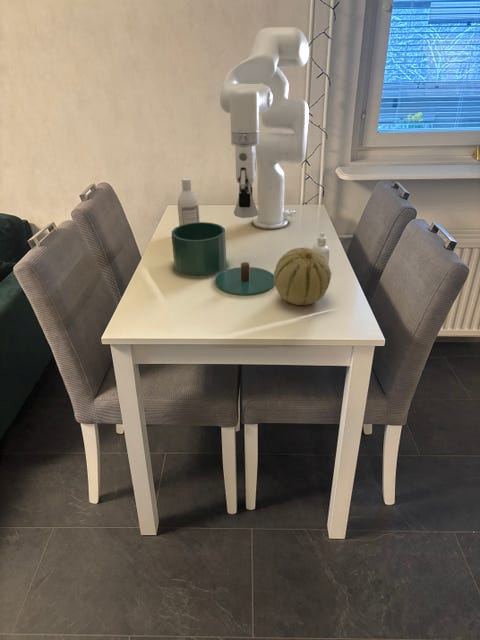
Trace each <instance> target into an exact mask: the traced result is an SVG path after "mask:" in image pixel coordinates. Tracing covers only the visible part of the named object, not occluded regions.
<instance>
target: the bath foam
mask: <svg viewBox="0 0 480 640" xmlns="http://www.w3.org/2000/svg"><path fill="white" fill-rule="evenodd" d="M181 188H182V189H181V192H180V194H179V195H178V199H177V210H178V211H177V213H178V226H180V225H184V224H188V223H195V222H200V211H199V210H200V209H199V200H198V197H197V196H196V194H195V192H194V191H193V190H192V180H191V178H190V177H185V178H184V177H183V178H181Z"/></svg>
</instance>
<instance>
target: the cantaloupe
mask: <svg viewBox="0 0 480 640" xmlns="http://www.w3.org/2000/svg"><path fill="white" fill-rule="evenodd" d="M331 273H332V272H331V269H330V265H329V264H327V262H326V259H325V258H324V257H323V255H321V254H320V253H319V252H317V251H315V250H314V249H313V248H311V247H294V248H291V249H290V250H287V252H285V253H283V254H282V256H281V257H280V258H279V259H278V261H277V263H276V265H275V268H274V272H273V275H274V283H275V286H274V287H275V288H276V291H277V292H278V294H279V296H280V297H281V298H282V299H283V300H285V302H288V303H290V304H293V305H296V306H307V305H312V304H314V303H316V302H318V301H319V300H321V299H322V297H324V296H325V294H326V292H327V291H328V288H329V286H330V283H331V279H332V278H331V277H332V275H331Z"/></svg>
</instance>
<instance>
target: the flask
mask: <svg viewBox="0 0 480 640" xmlns="http://www.w3.org/2000/svg"><path fill="white" fill-rule="evenodd" d="M245 182H248V180H246V181H245ZM249 183H251V182H249ZM246 186H247V184H246ZM249 193H250V207H239V197H238V199H237V202H236V205H235V207H234V210H233V215H234V216H235V217H237V218H240V219H248V218H255V217H258V215H259V214H258V207H257V206H256V203H255V199H254V197H253V193H252V194H251V188H250V184H249Z"/></svg>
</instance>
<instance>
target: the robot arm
mask: <svg viewBox="0 0 480 640" xmlns="http://www.w3.org/2000/svg"><path fill="white" fill-rule="evenodd" d="M309 46H310V45H309V42H308V38H306V36H305V34H304V32H303V31H302V30H301V29H300V28H298V27H295V26H276V27H275V26H272V27H265V28H262V29H260V30H259V31H258V32H257V34H256V35H255V37H254V41H253V44H252V47H251V50H250V53H249V55H248V57H247V58H246V59H244V60H243V61H241V62H239V63H238V64H236V65H235V66H234V67H232V68H231V69H230V70H229V71H228V72H227V74H226V75H225V78H224V79H223V82H222V86H221V89H220V94H219V103H220V107H221V109H222V111H224V112H225V113H227V114H229V117H230V118H229V119H230V120H229V121H230V145H232V146H234V147H235V148H234V150H235V154H234V155H235V178H236V179H235V180H236V182H237V183H238V198H239V207H250V193H249V184H250V188H251V194H252V195H253V184H254V183H255V181H256V179H257V211H258V214H259V215H257V216H255V217H254V219H253V225H254V226H255V227H257V228H260V229H268V230H275V229H280V228H283V227H286V226H287V225H288V223H289V222H288V221H289V220H288V218H290V217H296V215H297V212H296V210H289V209H285V178H286V177H285V172H284V170H283V169H282V167H281V165H280V164H301V163H303V161H305V158H306V156H307V146H308V133H309V122H310V121H309V120H310V110H309V105H308V103H307V102H306V101H305V100H304V99H299V98H289V87H290V84H289V80H288V79H287V77H286V75H285V74H284V72H283V71H282V70H281V69H280V68H302V67H304V66H305V65H306V64H307V62H308V60H309V54H310V47H309ZM259 115H261V116H259ZM259 117H261V124H262V126H263V127H264V128H266V129H270V130H287V131H293V133H285V132H284V133H282V132H266V133H265V132H264V133H261V134H260V123H259V122H260V120H259V119H260V118H259ZM246 180H248V182H245V181H246ZM249 182H251V183H249ZM246 184H247V186H246Z"/></svg>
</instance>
